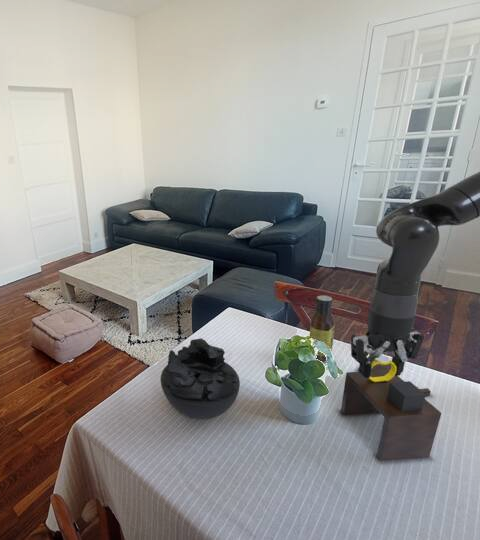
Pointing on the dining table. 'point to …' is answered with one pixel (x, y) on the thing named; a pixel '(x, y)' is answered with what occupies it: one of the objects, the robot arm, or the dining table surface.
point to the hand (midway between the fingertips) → (379, 374)
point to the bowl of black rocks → (200, 381)
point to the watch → (384, 361)
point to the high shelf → (391, 417)
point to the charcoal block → (406, 396)
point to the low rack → (387, 366)
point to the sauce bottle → (323, 323)
